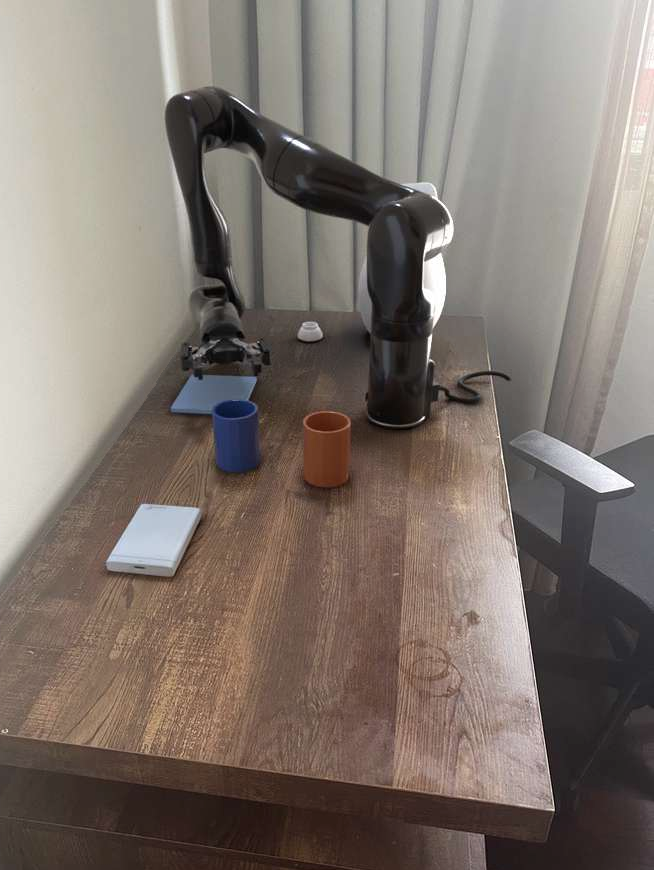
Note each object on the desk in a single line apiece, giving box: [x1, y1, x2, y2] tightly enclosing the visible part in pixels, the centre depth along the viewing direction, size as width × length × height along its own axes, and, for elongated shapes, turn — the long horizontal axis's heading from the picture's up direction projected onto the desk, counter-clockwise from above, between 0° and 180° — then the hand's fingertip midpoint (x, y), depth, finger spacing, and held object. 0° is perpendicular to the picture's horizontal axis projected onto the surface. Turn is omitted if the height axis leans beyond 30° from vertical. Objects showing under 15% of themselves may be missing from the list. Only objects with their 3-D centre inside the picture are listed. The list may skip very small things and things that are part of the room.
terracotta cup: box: [302, 410, 352, 488], centre depth 102 cm, size 6×6×8 cm
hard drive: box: [105, 503, 202, 578], centre depth 91 cm, size 2×8×12 cm
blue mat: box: [169, 374, 258, 415], centre depth 127 cm, size 14×12×1 cm
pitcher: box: [357, 181, 447, 334], centre depth 139 cm, size 24×17×28 cm
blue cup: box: [211, 399, 261, 473], centre depth 106 cm, size 6×6×8 cm
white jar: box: [297, 321, 323, 342], centre depth 149 cm, size 5×3×5 cm
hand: (228, 372), depth 112 cm, fingers open, 8 cm apart
